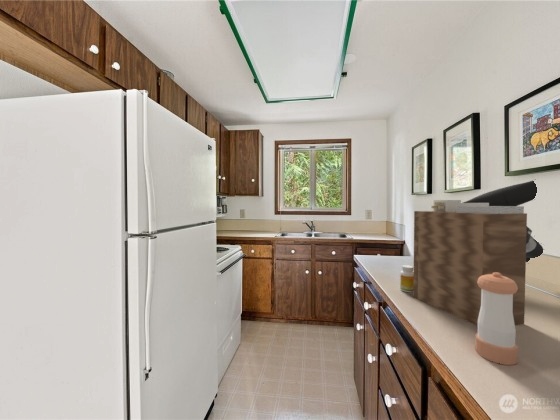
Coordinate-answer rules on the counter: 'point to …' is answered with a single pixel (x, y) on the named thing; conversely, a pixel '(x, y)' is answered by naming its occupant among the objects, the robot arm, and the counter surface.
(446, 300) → the walnut shelf
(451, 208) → the plug
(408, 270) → the supplement bottle
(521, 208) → the socket block
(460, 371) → the counter surface
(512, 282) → the pepper shaker
